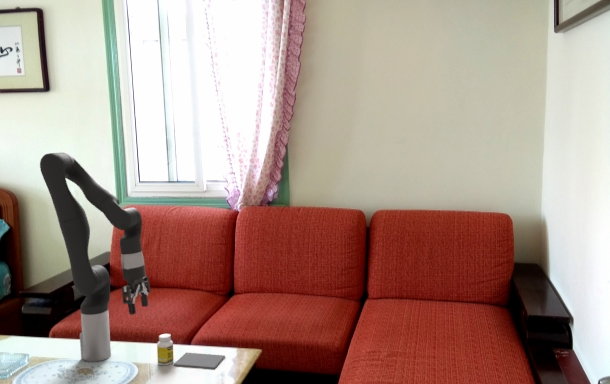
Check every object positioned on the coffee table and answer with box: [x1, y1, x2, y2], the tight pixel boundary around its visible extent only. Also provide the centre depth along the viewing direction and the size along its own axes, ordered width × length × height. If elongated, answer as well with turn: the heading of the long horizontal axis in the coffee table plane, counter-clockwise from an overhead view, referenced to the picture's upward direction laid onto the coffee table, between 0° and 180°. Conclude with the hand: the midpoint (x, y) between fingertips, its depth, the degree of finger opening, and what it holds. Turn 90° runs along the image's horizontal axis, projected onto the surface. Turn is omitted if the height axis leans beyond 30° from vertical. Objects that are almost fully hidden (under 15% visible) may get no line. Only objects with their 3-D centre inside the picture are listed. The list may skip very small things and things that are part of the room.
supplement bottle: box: [156, 333, 174, 366], centre depth 189 cm, size 5×5×10 cm
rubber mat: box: [173, 352, 226, 370], centre depth 190 cm, size 15×10×1 cm, turn 77°
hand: (139, 310), depth 190 cm, fingers open, 8 cm apart
